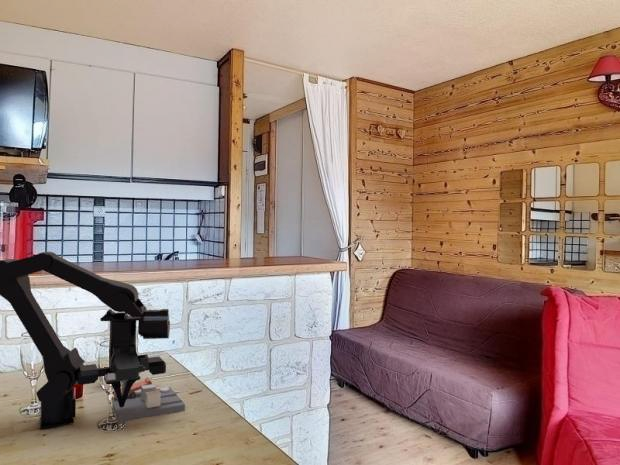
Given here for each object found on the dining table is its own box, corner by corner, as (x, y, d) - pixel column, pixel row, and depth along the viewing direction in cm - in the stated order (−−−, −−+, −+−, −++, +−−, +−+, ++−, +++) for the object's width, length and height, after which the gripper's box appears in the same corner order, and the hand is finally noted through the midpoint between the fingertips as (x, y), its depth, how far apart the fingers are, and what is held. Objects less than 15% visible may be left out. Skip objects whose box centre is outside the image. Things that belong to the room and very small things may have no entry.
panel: (118, 422, 104) (118, 411, 104) (109, 402, 116) (109, 391, 116) (184, 410, 112) (184, 399, 112) (169, 392, 124) (170, 382, 124)
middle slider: (142, 401, 113) (143, 388, 113) (140, 397, 115) (141, 385, 115) (155, 399, 114) (155, 386, 114) (153, 395, 116) (153, 384, 116)
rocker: (115, 398, 113) (114, 393, 113) (113, 394, 115) (112, 389, 115) (152, 385, 117) (151, 380, 117) (149, 381, 120) (148, 377, 120)
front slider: (147, 408, 108) (147, 395, 108) (145, 404, 110) (145, 392, 110) (160, 405, 110) (160, 393, 110) (158, 402, 112) (158, 390, 112)
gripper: (81, 352, 95) (79, 428, 95) (172, 342, 104) (171, 411, 104) (76, 340, 104) (75, 409, 104) (160, 332, 114) (159, 395, 114)
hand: (121, 406), depth 107 cm, fingers closed
